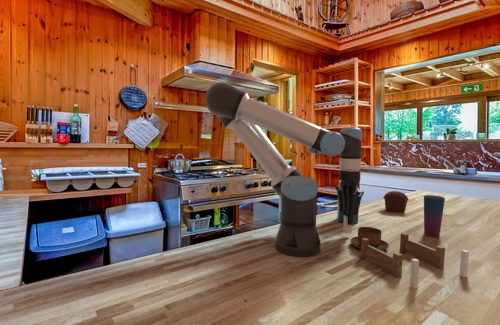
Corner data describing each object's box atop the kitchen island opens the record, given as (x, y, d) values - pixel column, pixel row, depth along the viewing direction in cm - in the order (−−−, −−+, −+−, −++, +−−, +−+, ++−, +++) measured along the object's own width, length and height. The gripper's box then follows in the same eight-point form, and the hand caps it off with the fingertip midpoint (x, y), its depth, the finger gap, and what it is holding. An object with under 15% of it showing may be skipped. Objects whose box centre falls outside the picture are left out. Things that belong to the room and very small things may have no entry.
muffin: (384, 212, 145) (385, 192, 144) (381, 207, 155) (382, 189, 154) (410, 214, 141) (411, 194, 140) (405, 209, 152) (406, 190, 151)
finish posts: (414, 288, 70) (415, 261, 69) (409, 286, 71) (411, 259, 70) (467, 276, 76) (468, 251, 76) (462, 274, 78) (464, 249, 77)
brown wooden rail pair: (396, 277, 76) (398, 255, 75) (360, 257, 88) (361, 238, 88) (443, 267, 82) (445, 247, 81) (403, 250, 94) (404, 232, 94)
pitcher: (358, 224, 124) (361, 173, 122) (338, 222, 125) (340, 173, 124) (355, 218, 133) (357, 171, 131) (336, 216, 135) (338, 170, 133)
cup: (422, 236, 109) (424, 197, 108) (420, 231, 115) (423, 194, 114) (443, 239, 106) (446, 199, 104) (441, 234, 112) (443, 196, 110)
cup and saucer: (357, 239, 105) (357, 222, 105) (392, 247, 98) (393, 229, 97) (344, 248, 96) (345, 230, 96) (382, 258, 89) (383, 238, 88)
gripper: (370, 171, 101) (368, 236, 102) (346, 167, 113) (344, 226, 115) (353, 172, 98) (351, 239, 100) (330, 168, 110) (328, 228, 112)
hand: (347, 232), depth 107 cm, fingers closed
